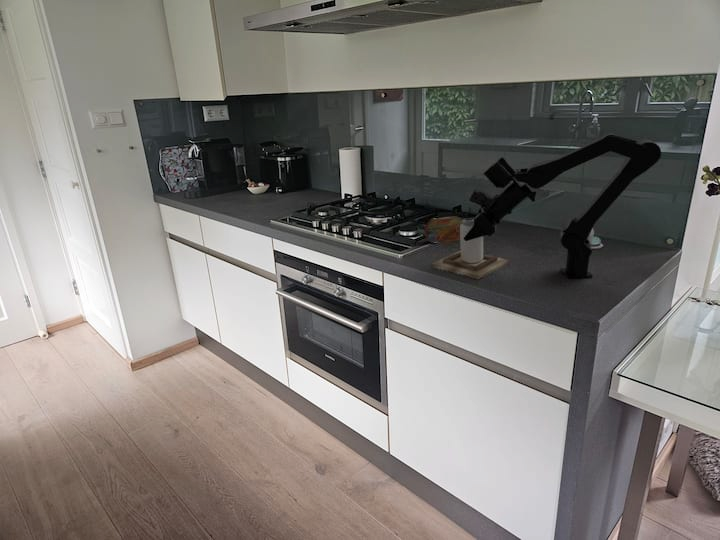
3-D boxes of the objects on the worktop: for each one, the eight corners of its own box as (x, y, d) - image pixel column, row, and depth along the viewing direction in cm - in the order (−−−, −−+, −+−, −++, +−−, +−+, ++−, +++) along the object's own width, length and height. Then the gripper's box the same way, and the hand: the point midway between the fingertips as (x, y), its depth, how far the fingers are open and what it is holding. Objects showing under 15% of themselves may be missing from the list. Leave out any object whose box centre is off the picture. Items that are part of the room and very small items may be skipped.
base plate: (508, 264, 144) (508, 256, 143) (479, 279, 134) (479, 272, 133) (462, 253, 155) (462, 246, 154) (431, 267, 144) (431, 260, 144)
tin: (426, 245, 164) (426, 220, 162) (423, 242, 167) (423, 218, 164) (467, 239, 168) (468, 216, 165) (463, 237, 171) (464, 214, 168)
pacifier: (607, 246, 156) (589, 242, 160) (610, 228, 153) (592, 223, 158) (594, 251, 152) (576, 246, 156) (597, 232, 150) (579, 228, 154)
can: (487, 259, 143) (487, 221, 138) (469, 266, 141) (468, 227, 136) (474, 252, 148) (474, 215, 143) (456, 258, 146) (455, 221, 141)
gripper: (491, 173, 142) (452, 208, 150) (484, 185, 126) (440, 225, 133) (517, 200, 142) (477, 235, 150) (514, 216, 126) (469, 254, 133)
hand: (466, 236), depth 142 cm, fingers closed on can, 6 cm apart
